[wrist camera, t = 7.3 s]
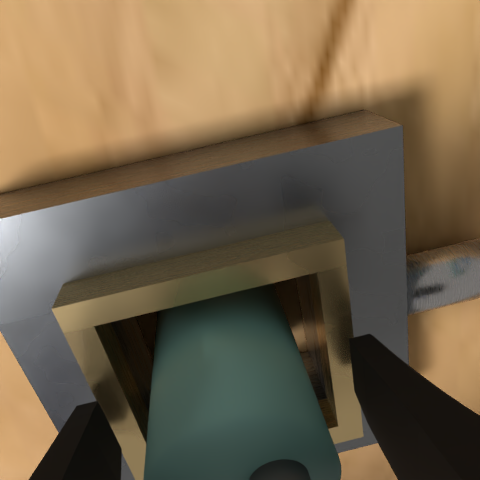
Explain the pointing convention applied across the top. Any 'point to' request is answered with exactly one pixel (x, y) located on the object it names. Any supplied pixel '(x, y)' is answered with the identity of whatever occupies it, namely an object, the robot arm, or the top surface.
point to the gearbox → (219, 264)
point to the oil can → (234, 395)
